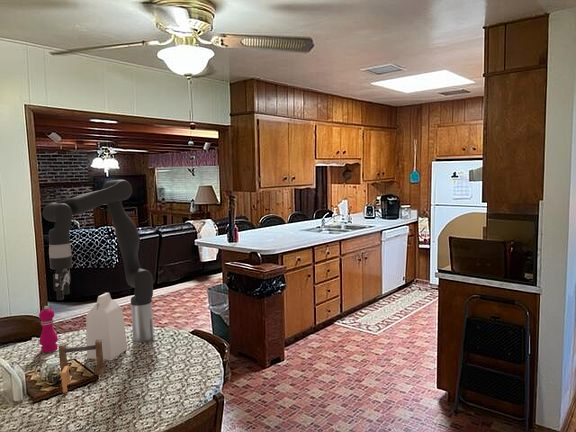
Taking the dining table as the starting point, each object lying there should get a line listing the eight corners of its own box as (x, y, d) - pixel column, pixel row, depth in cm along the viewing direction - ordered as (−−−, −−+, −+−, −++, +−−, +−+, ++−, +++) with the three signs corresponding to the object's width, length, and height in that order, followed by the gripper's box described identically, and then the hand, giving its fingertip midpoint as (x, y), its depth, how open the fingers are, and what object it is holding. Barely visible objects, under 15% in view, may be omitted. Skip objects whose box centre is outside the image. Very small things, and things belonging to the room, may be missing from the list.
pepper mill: (52, 352, 191) (49, 308, 189) (36, 353, 191) (33, 308, 190) (61, 346, 198) (58, 303, 197) (46, 346, 199) (42, 303, 197)
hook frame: (106, 364, 178) (104, 335, 177) (102, 374, 168) (100, 344, 167) (63, 369, 174) (60, 340, 173) (56, 381, 164) (54, 350, 163)
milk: (111, 359, 182) (107, 299, 180) (87, 358, 184) (82, 298, 182) (127, 348, 194) (123, 291, 191) (104, 347, 196) (100, 290, 194)
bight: (70, 384, 161) (69, 365, 160) (66, 392, 155) (65, 372, 154) (66, 385, 160) (64, 366, 160) (62, 393, 155) (61, 372, 154)
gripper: (66, 258, 161) (69, 301, 162) (75, 251, 175) (78, 291, 176) (43, 259, 159) (47, 302, 161) (55, 253, 173) (57, 293, 174)
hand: (63, 297), depth 168 cm, fingers open, 8 cm apart
